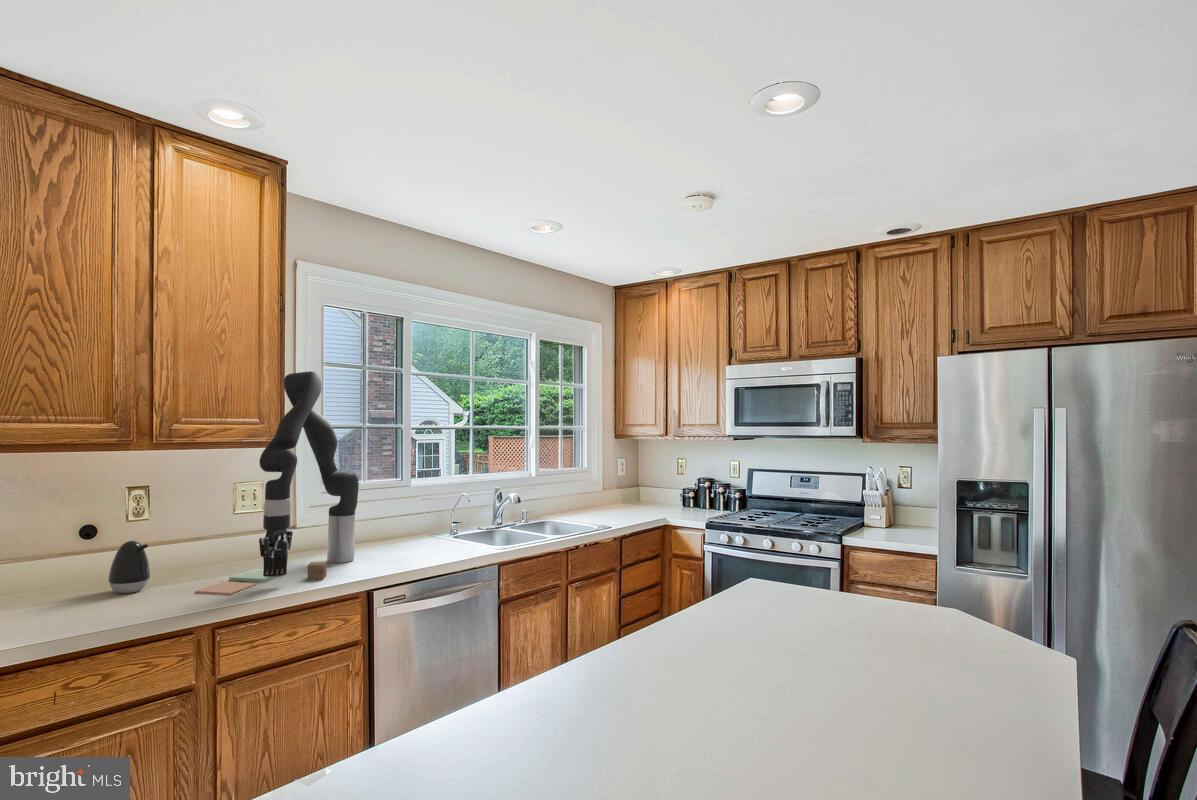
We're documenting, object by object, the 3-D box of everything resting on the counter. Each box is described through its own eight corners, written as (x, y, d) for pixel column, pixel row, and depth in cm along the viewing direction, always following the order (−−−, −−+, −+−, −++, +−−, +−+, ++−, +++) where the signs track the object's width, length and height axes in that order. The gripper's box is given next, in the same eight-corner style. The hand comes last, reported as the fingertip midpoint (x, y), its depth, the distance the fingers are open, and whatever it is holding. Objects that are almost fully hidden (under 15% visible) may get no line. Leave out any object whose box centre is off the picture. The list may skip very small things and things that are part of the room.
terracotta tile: (222, 585, 205) (223, 581, 205) (257, 587, 203) (257, 583, 203) (194, 595, 193) (194, 591, 193) (231, 597, 191) (231, 593, 191)
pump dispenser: (132, 596, 188) (134, 544, 189) (98, 595, 189) (101, 543, 189) (158, 587, 198) (160, 538, 199) (126, 586, 199) (128, 537, 199)
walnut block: (310, 576, 216) (310, 562, 216) (326, 576, 217) (326, 561, 217) (307, 580, 211) (307, 565, 211) (323, 580, 212) (323, 564, 212)
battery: (261, 578, 198) (262, 541, 198) (263, 575, 201) (264, 538, 202) (286, 576, 200) (287, 540, 200) (287, 574, 204) (288, 537, 204)
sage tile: (253, 572, 220) (253, 568, 220) (285, 574, 218) (286, 570, 218) (229, 580, 208) (229, 577, 208) (263, 582, 206) (263, 579, 206)
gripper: (279, 509, 209) (278, 561, 209) (251, 516, 195) (249, 572, 194) (301, 510, 208) (299, 562, 208) (274, 517, 194) (272, 573, 193)
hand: (275, 567), depth 201 cm, fingers closed on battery, 5 cm apart
